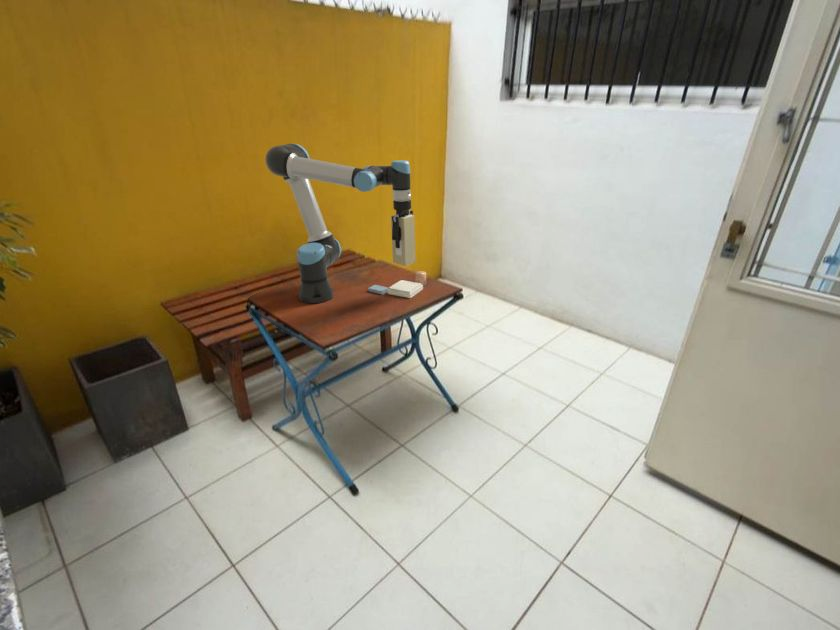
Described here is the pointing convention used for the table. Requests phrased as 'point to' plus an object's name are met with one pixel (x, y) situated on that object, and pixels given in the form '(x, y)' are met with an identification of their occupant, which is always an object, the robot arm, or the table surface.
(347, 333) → the table surface
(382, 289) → the book
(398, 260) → the tall cream block
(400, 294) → the podium
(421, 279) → the peach egg shape
